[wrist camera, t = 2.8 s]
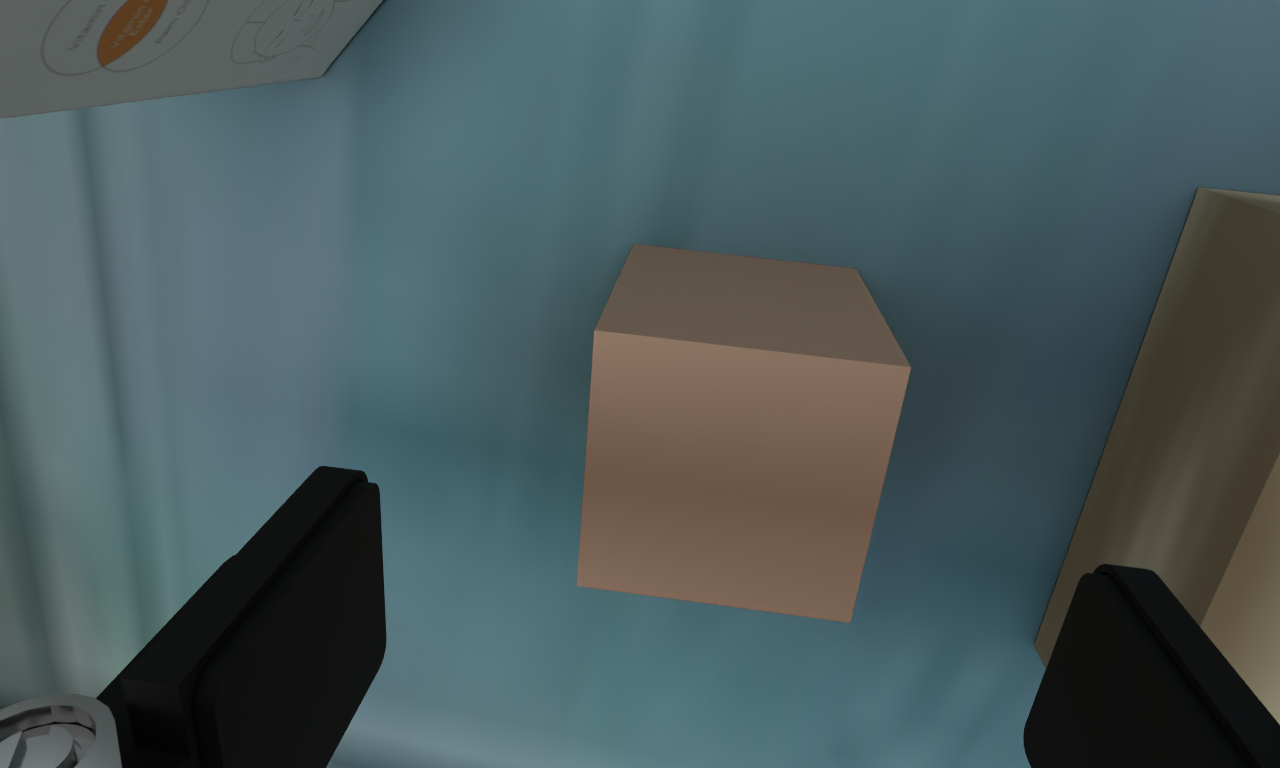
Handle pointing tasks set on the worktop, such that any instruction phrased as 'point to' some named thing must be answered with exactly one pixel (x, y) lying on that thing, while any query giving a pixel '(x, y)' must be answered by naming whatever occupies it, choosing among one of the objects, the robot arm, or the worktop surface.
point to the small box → (162, 48)
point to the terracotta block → (737, 432)
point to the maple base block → (1201, 444)
